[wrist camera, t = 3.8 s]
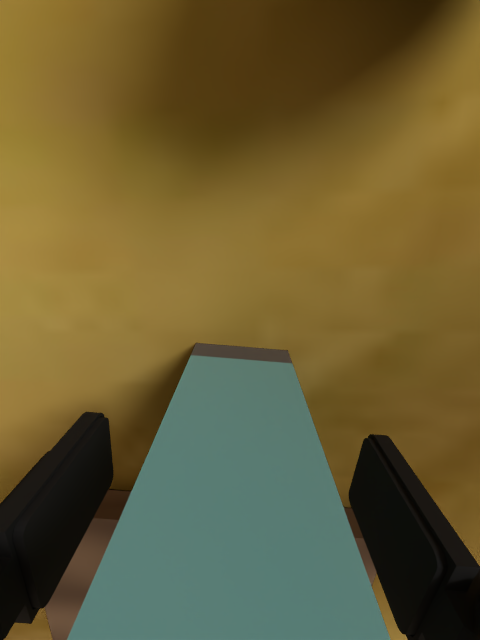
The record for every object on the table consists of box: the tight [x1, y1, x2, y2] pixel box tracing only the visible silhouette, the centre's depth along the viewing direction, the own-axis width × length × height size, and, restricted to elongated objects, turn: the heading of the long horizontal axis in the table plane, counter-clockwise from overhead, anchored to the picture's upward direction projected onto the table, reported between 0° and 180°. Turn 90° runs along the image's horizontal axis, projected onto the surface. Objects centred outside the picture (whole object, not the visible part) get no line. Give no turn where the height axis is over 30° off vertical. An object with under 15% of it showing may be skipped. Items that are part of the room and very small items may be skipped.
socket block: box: [45, 490, 377, 640], centre depth 15 cm, size 14×18×3 cm
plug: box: [67, 343, 390, 640], centre depth 8 cm, size 6×4×9 cm, turn 175°
